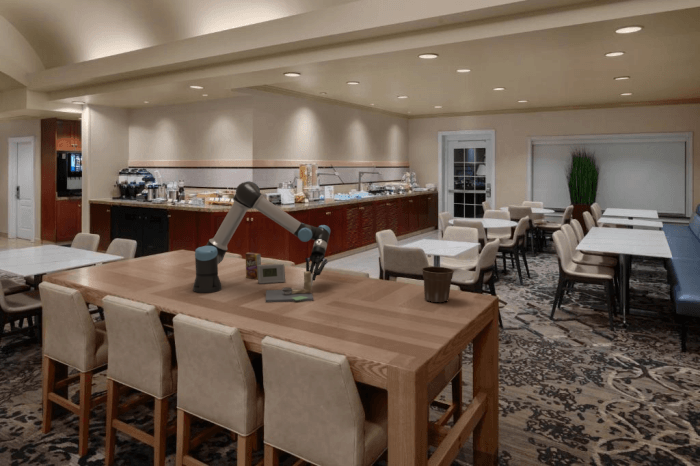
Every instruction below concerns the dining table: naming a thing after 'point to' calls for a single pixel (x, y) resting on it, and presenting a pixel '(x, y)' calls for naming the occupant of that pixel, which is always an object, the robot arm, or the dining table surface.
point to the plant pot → (437, 283)
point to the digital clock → (271, 273)
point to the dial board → (287, 296)
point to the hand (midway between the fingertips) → (309, 285)
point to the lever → (306, 285)
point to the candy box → (252, 265)
